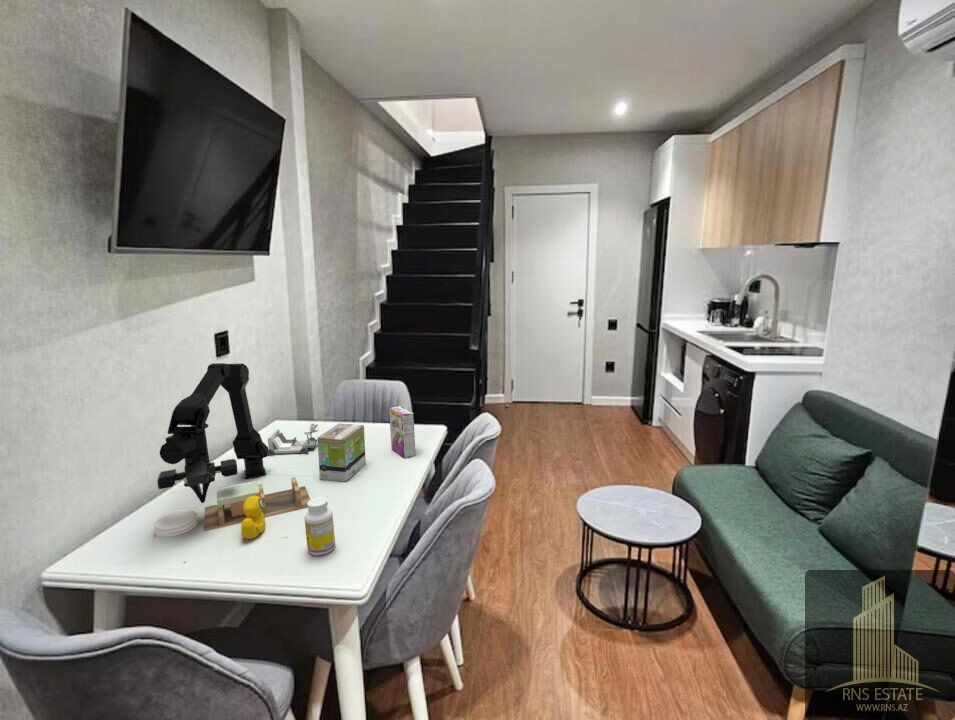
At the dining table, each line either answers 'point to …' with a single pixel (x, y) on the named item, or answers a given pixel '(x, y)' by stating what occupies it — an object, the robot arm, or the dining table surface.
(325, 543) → the supplement bottle
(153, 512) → the dining table surface
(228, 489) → the cover
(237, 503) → the block
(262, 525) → the duckling
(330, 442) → the tea box
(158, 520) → the coaster
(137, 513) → the dining table surface
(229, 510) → the wooden slotted rack
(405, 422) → the candy bar box
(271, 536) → the dining table surface
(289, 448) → the toy car
